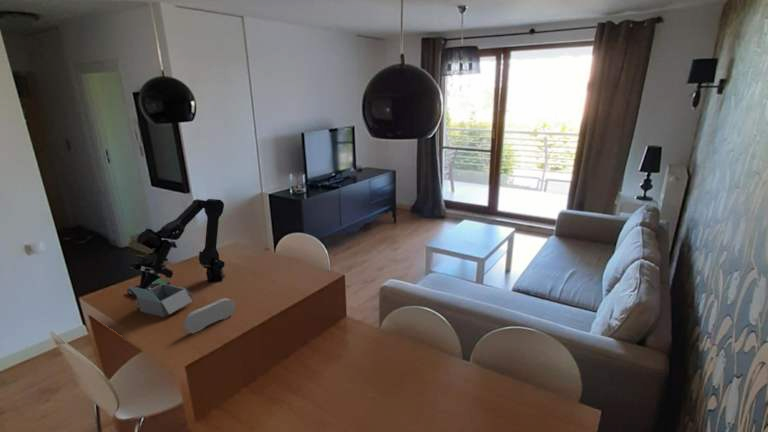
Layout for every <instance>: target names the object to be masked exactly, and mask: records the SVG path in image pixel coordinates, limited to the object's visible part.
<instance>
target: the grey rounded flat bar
mask: <svg viewBox="0 0 768 432" xmlns="http://www.w3.org/2000/svg"><path fill="white" fill-rule="evenodd" d="M235 308H236V305H235V302H234V301H233V300H231V299H229V298H226V297H225V298H220V299H219V300H216V301H215V302H212V303H210V304H209V303H208V304H207V305H205V306H203V307H201V308H198V309H195V310H193V311H191V312H189V313H188V314H187V315H186V317H185V318H184V320H183V329H184V330H185V331H186V332H188V333H190V334H196V333H195V332H197V331H200V330H201V331H202V329H203V330H204V329H205V328H206V327H208V326H210V325H212V324H214V323H216V322H218V321H220V320H223V319H224V320H226V319H225V318H226V317H229V316H230V317H231V316H232V315H233V314H234V312H235ZM230 317H229V318H230ZM224 320H223V321H224ZM201 331H200V332H201Z"/></svg>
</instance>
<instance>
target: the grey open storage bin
mask: <svg viewBox="0 0 768 432" xmlns="http://www.w3.org/2000/svg"><path fill="white" fill-rule="evenodd" d="M150 291H152V292H153V294H154V295H155V296H156V297H157V298H158V300H159V301H155V300H150V299H146V298H142V297H138V296H137V299H136V301H135V302H136V303H135V306H136V307H138V306H139V311H140V312H141V313H145V314H148V315H153V316H156V317H160V318H163V319H164V318H166V317H167V316H169V315H171V314H173V313H175V312H176V311H178V310H180V309H182V308H183V307H185V306H187V305H188V304H191V303H192V302H193V300H192V298H191V297H194V295H193V294H192V293H191V292H190V291H189V290H188V289H187V288H185V287H183V286H178V285H172V284H170V285H168V284H161V285H159V286H157V287H154V288H152V289H150Z"/></svg>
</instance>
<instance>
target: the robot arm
mask: <svg viewBox="0 0 768 432" xmlns="http://www.w3.org/2000/svg"><path fill="white" fill-rule="evenodd" d="M224 208H225V202H223V201H222V199H215V198H207V199H206V200H204V199H197V198H196V199H194V200H193V201H192V203H190V205H189V206H188V207H187V208H186V209H184V211H183V212H182V213H180V214H179V215H178V216H177V218H176V219H174V220H172V221H170V222H168V223H166V224H164V225H163V226H162V227H161V228H160V229H159V230H157V231H154V230H152V229H151V228H146V229H145V230H144V231H142V232H140V234H138V236H137V238H136V242H137V244H139V245H141V246H144V247H145V248H147V249H150V250H152V251H151V252H148V253H145V255H140V254H139V255H138V254H135V255H133V259H132V262H131V263H130V265H129V268H130V269H133V270H135V271H137V272H139V274H140V283H139V285H140V288H141V289H145V288H146V287H148V286H149V285H150V284H151V283H153V282H154V281H156V280H157V279H158V278H161V279H162V276H161V275H163V276H165V278H169V279H172V277H173V275H174V271H173V270H171V269H169V268H167V267H165V266H163V265H164V263H165V262H168V261H169V258H168V255H169V253H170V252H171V249H172V248H173V249H177V248H178V245H177V244H176V241H178V240H179V239H180V238H181V236H182V235H183V233H184V232H185V229H186V227H187V225H188V224H190V222H191V221H192V220H193V219H194V218H195V217H196V216H197V215H198V214H199V213H200V212H201V211H203V210H204V213H205V215H206V217H207V219H206V228H205V229H206V232H205V241H204V242H205V243H204V248H203V249H202V250H200V251H199V254H198V255H199V256H198V259H197V260H198V261H199V264H200V265H201V266H202V267H203V269H206V272H205V275H206V279H207V283H216V282H222V281H223V279H224V278H225V274H224V270H223V268H225V265H226V263H225V262H226V261H223V260H221V259H220V254H219V252H218V249H217V243H218V233H219V232H218V231H219V229H218V228H219V221H220V220H219V219H220V217H221V216H222V214H223V213H224Z"/></svg>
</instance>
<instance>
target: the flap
mask: <svg viewBox="0 0 768 432" xmlns="http://www.w3.org/2000/svg"><path fill="white" fill-rule="evenodd" d="M128 287H129V289H131V290H132V291H133V292H134V293H135V294H136V295H137V296H138V297H142V298H146V299H150V300H155V301H159V300H158V298H157V297H156V296H155V295H154V294H153V292H152V291H150V290H146V289H141V288H137V287H135V286H132V285H129V286H128Z"/></svg>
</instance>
